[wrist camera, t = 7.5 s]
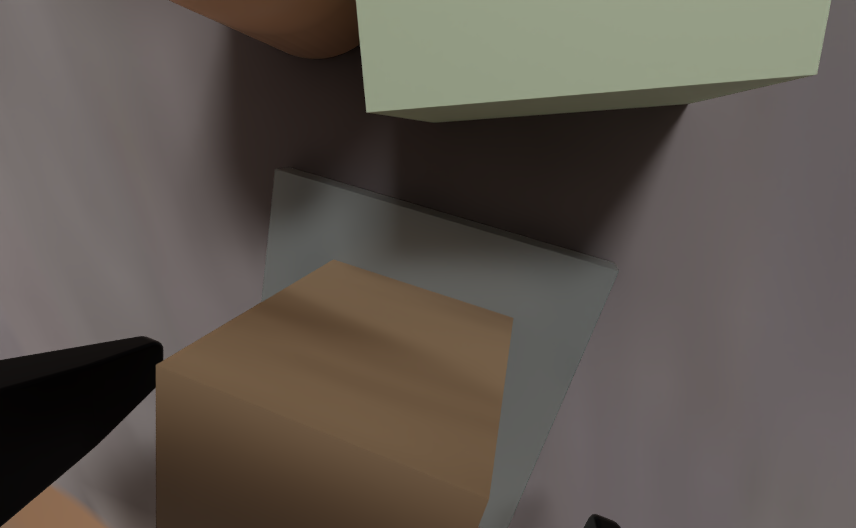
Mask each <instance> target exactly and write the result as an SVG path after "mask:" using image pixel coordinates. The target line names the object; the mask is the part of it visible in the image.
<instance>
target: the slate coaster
mask: <svg viewBox="0 0 856 528" xmlns="http://www.w3.org/2000/svg"><path fill="white" fill-rule="evenodd" d="M333 259H334V260H337V261H340V262H343V263H346V264H349V265H352V266H355V267H358V268H361V269H365V270H368V271H371V272H374V273H377V274H380V275H383V276H386V277H389V278H392V279H395V280H398V281H401V282H405V283H408V284H411V285H414V286H417V287H420V288H423V289H426V290H429V291H432V292H435V293H438V294H441V295H445V296H448V297H451V298H454V299H457V300H460V301H463V302H466V303H469V304H472V305H475V306H478V307H481V308H485V309H488V310H491V311H494V312H497V313H500V314H503V315H506V316H509V317H512V318H513V325H512V332H511V340H510V347H509V355H508V362H507V370H506V377H505V385H504V392H503V399H502V407H501V414H500V422H499V429H498V437H497V444H496V451H495V459H494V466H493V474H492V481H491V489H490V496H489V501H488V503H487V506H486V508H485V511H484V513H483V516H482V519H481V521H480V524H479V527H481V528H508V526H509V524H510V522H511V519H512V517H513V515H514V512H515V510H516V508H517V505H518V503H519V501H520V499H521V496H522V494H523V492H524V489H525V487H526V485H527V482H528V480H529V478H530V475H531V473H532V471H533V468H534V466H535V464H536V462H537V459H538V457H539V455H540V452H541V450H542V448H543V445H544V443H545V441H546V438H547V436H548V434H549V431H550V429H551V427H552V425H553V422H554V420H555V418H556V415H557V413H558V411H559V408H560V406H561V404H562V401H563V399H564V397H565V395H566V392H567V390H568V388H569V385H570V383H571V381H572V378H573V376H574V374H575V371H576V369H577V367H578V364H579V362H580V360H581V358H582V355H583V353H584V351H585V348H586V346H587V344H588V341H589V339H590V337H591V334H592V332H593V330H594V328H595V325H596V323H597V321H598V318H599V316H600V314H601V311H602V309H603V307H604V304H605V302H606V300H607V297H608V295H609V293H610V291H611V288H612V286H613V284H614V281H615V279H616V277H617V274H618V272H619V270H618V269H617V267H616V265H615V264H614V263H613V262H610V261H606V260H603V259H600V258H596V257H593V256H589V255H586V254H583V253H579V252H576V251H572V250H569V249H566V248H562V247H559V246H555V245H552V244H549V243H545V242H542V241H538V240H535V239H532V238H528V237H525V236H521V235H518V234H515V233H511V232H508V231H504V230H501V229H498V228H494V227H491V226H487V225H484V224H481V223H477V222H474V221H470V220H467V219H464V218H460V217H457V216H454V215H450V214H447V213H443V212H440V211H437V210H433V209H430V208H426V207H423V206H420V205H416V204H413V203H409V202H406V201H403V200H399V199H396V198H392V197H389V196H386V195H382V194H379V193H375V192H372V191H369V190H365V189H362V188H358V187H355V186H352V185H348V184H345V183H341V182H338V181H335V180H331V179H328V178H324V177H321V176H318V175H314V174H311V173H307V172H304V171H301V170H297V169H294V168H290V167H287V168H278V169H275V174H274V184H273V193H272V203H271V213H270V223H269V232H268V242H267V252H266V261H265V271H264V281H263V291H262V300H261V302H263V301H264V300H266V299H268V298H269V297H271V296H273V295H274V294H276V293H278V292H279V291H281V290H283V289H285V288H286V287H288V286H290V285H291V284H293V283H295V282H296V281H298V280H300V279H301V278H303V277H305V276H306V275H308V274H310V273H311V272H313V271H315V270H316V269H318V268H320V267H322V266H323V265H325V264H327V263H328V262H330V261H332V260H333Z"/></svg>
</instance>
